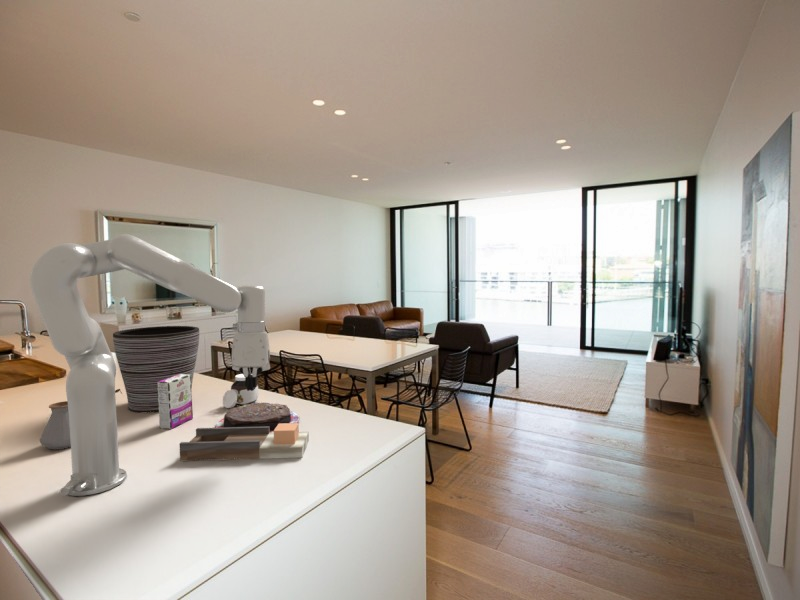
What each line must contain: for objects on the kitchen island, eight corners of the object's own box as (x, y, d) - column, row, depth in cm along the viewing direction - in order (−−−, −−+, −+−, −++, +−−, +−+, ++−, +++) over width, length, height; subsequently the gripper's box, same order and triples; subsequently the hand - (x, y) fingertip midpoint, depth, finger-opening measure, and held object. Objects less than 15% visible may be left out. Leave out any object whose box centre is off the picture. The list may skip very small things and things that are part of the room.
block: (294, 443, 124) (294, 430, 124) (274, 444, 124) (273, 430, 123) (298, 435, 130) (298, 423, 130) (278, 436, 130) (278, 423, 129)
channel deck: (302, 457, 122) (301, 440, 121) (180, 460, 120) (179, 443, 119) (308, 440, 134) (308, 425, 133) (197, 443, 132) (197, 428, 131)
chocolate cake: (294, 408, 167) (293, 391, 167) (305, 433, 141) (304, 413, 141) (216, 417, 157) (216, 399, 157) (213, 445, 131) (212, 424, 131)
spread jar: (260, 401, 176) (260, 373, 175) (248, 410, 164) (247, 380, 164) (233, 400, 177) (232, 372, 176) (219, 409, 165) (218, 379, 165)
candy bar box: (181, 417, 156) (179, 373, 155) (193, 418, 155) (191, 374, 154) (158, 428, 145) (156, 381, 144) (171, 429, 144) (169, 382, 143)
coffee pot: (39, 456, 123) (36, 405, 122) (40, 443, 132) (38, 396, 131) (126, 438, 136) (124, 392, 136) (122, 428, 145) (120, 384, 145)
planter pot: (110, 402, 174) (107, 330, 172) (189, 389, 194) (187, 324, 192) (123, 422, 151) (119, 338, 149) (211, 404, 171) (209, 330, 169)
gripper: (220, 328, 120) (220, 393, 121) (274, 329, 121) (274, 393, 122) (229, 326, 128) (229, 386, 129) (280, 326, 129) (279, 386, 129)
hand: (251, 389), depth 125 cm, fingers closed
